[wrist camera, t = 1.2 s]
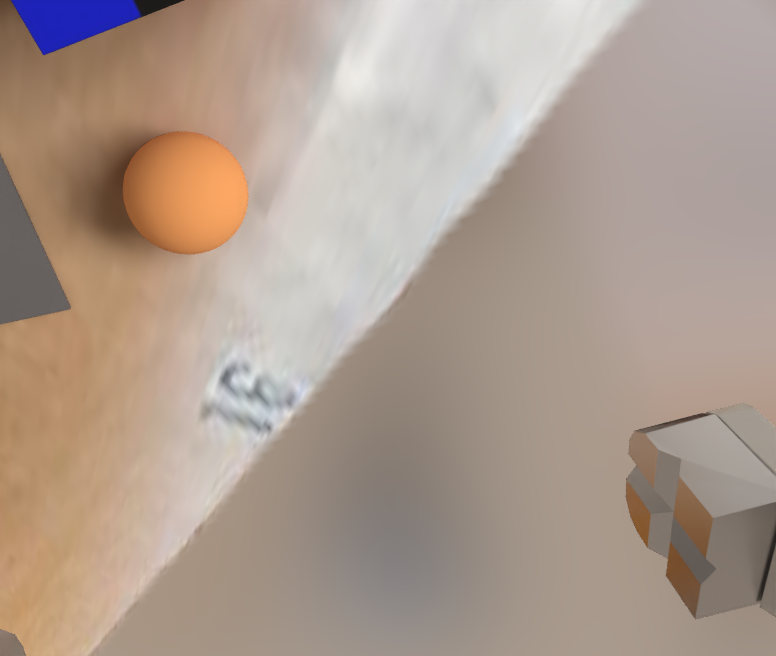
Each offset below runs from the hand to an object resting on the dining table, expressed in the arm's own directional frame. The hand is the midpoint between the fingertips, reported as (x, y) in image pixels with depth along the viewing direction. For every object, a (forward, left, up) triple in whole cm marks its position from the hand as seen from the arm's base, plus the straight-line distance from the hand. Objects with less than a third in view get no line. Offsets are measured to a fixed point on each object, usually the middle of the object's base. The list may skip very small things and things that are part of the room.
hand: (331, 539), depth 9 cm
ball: (+5, -4, -26) cm, 27 cm away
